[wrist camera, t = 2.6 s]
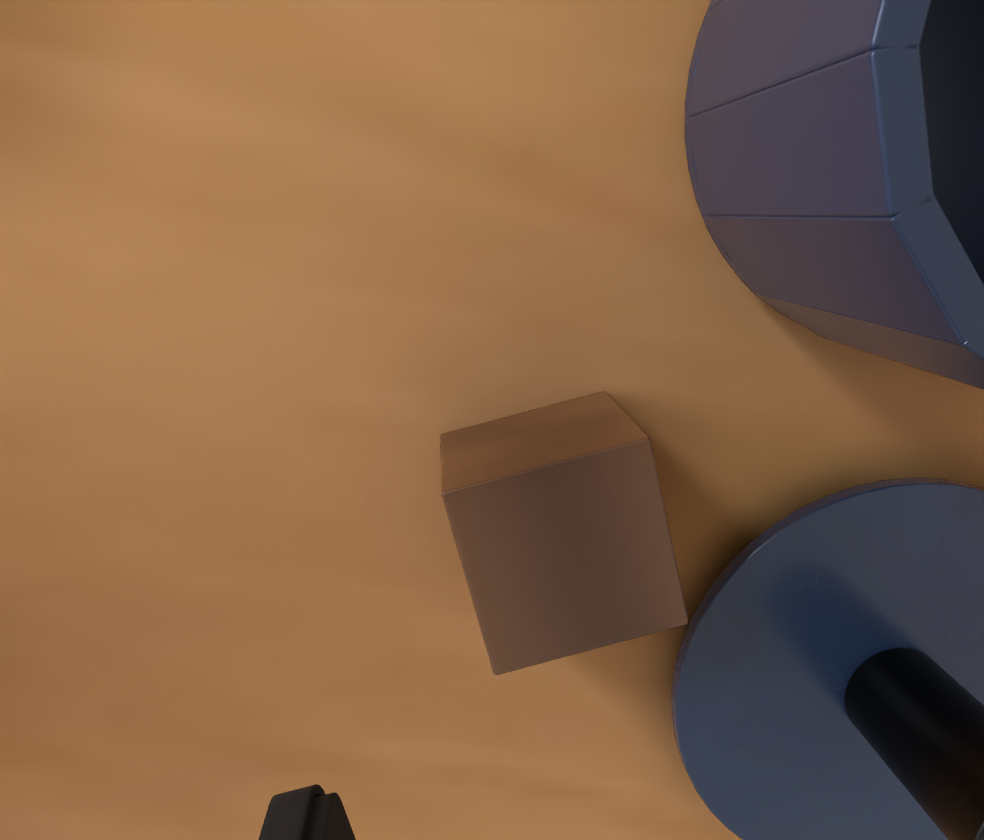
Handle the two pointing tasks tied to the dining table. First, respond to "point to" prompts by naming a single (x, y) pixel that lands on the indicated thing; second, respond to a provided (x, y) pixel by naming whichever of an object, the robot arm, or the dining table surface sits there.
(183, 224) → the dining table surface
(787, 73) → the pot
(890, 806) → the pot lid
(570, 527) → the block
